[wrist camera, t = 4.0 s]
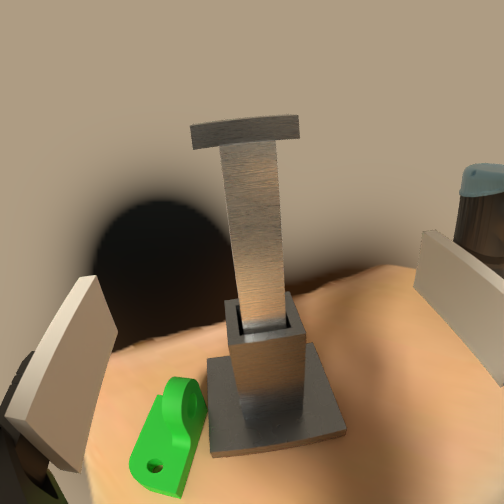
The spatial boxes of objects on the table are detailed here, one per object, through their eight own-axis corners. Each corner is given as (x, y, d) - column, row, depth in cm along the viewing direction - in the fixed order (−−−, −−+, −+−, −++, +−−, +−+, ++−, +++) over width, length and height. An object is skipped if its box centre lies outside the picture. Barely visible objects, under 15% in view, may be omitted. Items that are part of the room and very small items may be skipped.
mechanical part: (162, 404, 33) (141, 361, 30) (208, 411, 32) (192, 367, 29) (129, 484, 23) (93, 452, 19) (181, 499, 22) (153, 471, 18)
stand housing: (312, 350, 39) (314, 257, 33) (344, 435, 27) (368, 343, 21) (209, 366, 39) (186, 275, 32) (212, 458, 26) (175, 375, 20)
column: (295, 373, 34) (286, 114, 21) (302, 396, 30) (299, 115, 18) (236, 382, 33) (193, 123, 21) (239, 407, 30) (189, 125, 18)
